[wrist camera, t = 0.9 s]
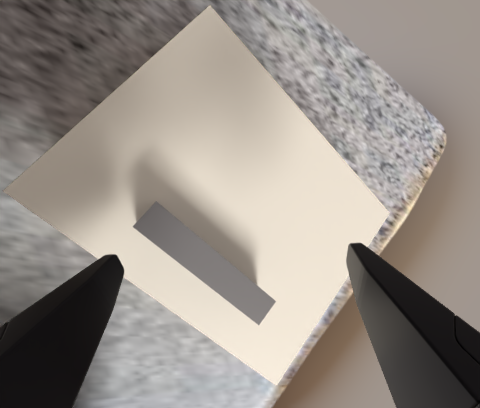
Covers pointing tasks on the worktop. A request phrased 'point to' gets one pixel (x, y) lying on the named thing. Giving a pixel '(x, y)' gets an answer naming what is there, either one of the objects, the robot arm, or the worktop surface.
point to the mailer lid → (210, 196)
